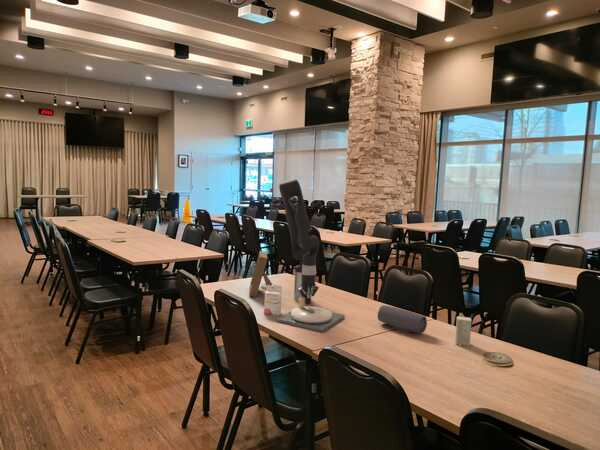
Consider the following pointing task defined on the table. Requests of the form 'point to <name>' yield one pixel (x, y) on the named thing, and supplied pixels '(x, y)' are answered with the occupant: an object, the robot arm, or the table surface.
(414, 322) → the bluetooth speaker
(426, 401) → the table surface
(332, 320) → the base plate
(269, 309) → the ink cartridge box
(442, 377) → the table surface
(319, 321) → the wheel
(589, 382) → the table surface
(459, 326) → the skincare box
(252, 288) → the photo frame
